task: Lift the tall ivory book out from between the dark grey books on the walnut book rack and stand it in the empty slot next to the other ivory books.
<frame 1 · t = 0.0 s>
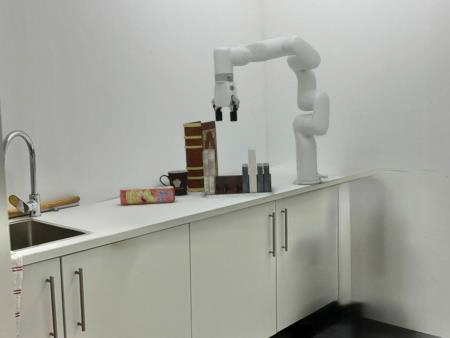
hand: (226, 121, 252), 31 cm above the worktop, tool pointing down, fingers open, 9 cm apart
book rack: (239, 193, 264), on the worktop
coffee mug: (176, 194, 267), on the worktop
snack package: (148, 203, 249), on the worktop
decorative book: (202, 188, 284), on the worktop
ivory book: (253, 190, 264), point 1 cm above the worktop, touching book rack
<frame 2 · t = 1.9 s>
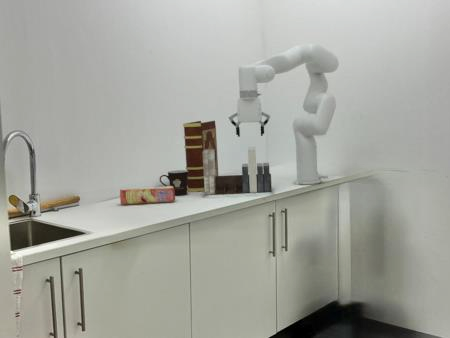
hand: (250, 136, 261), 24 cm above the worktop, tool pointing down, fingers open, 9 cm apart
nothing on the worktop moved.
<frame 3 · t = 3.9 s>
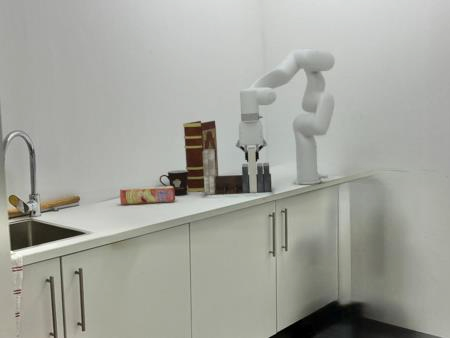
hand: (252, 161, 262), 14 cm above the worktop, tool pointing down, fingers closed on ivory book, 3 cm apart
ivory book: (253, 190, 264), point 1 cm above the worktop, touching book rack, gripper
everything else where it was.
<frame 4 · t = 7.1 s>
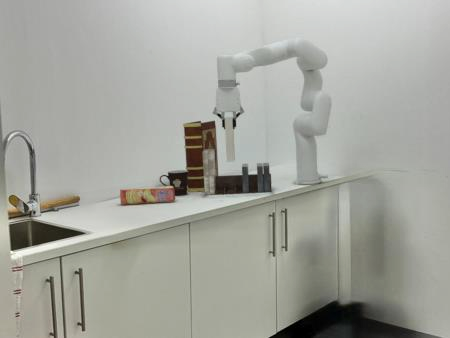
hand: (229, 128, 260), 28 cm above the worktop, tool pointing down, fingers closed on ivory book, 3 cm apart
ivory book: (231, 160, 262), point 14 cm above the worktop, touching gripper
everything else where it was.
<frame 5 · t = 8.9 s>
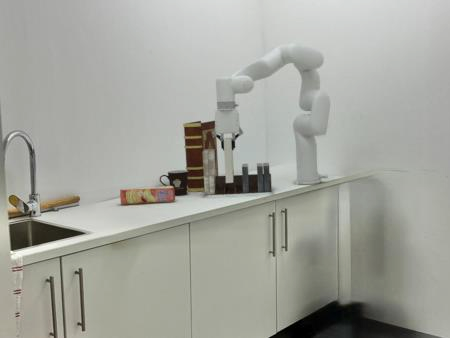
hand: (228, 149, 261), 19 cm above the worktop, tool pointing down, fingers closed on ivory book, 3 cm apart
ivory book: (230, 181, 263), point 6 cm above the worktop, touching gripper
everything else where it was.
when the fingers open (14 cm above the worktop, at t = 10.1 s): ivory book stays where it is, resting on book rack.
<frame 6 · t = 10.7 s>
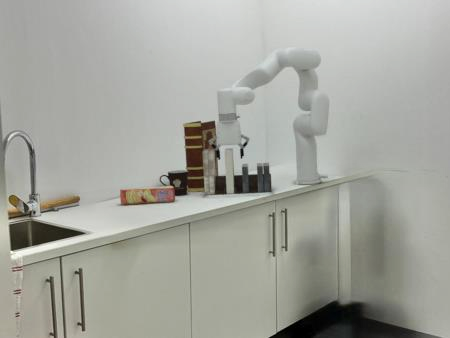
hand: (230, 158, 262), 15 cm above the worktop, tool pointing down, fingers open, 9 cm apart
ivory book: (230, 191, 263), point 1 cm above the worktop, touching book rack
everything else where it was.
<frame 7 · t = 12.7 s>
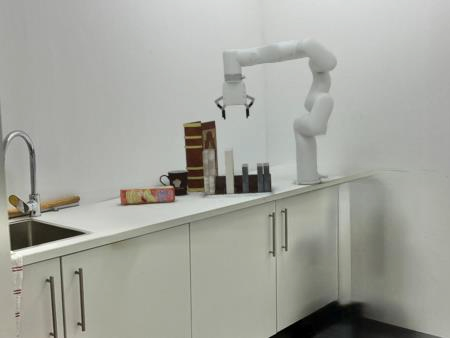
hand: (236, 118, 268), 31 cm above the worktop, tool pointing down, fingers open, 9 cm apart
nothing on the worktop moved.
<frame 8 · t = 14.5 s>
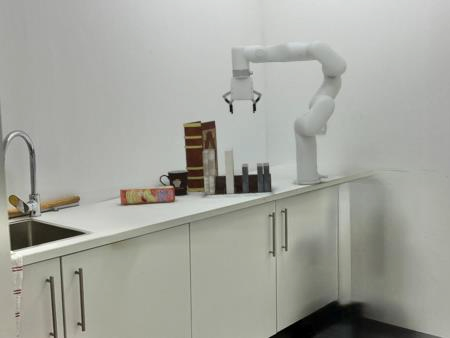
hand: (243, 113, 275), 33 cm above the worktop, tool pointing down, fingers open, 9 cm apart
nothing on the worktop moved.
at the end: ivory book 0.1 cm from the target spot on the book rack, point 1.0 cm above the book rack's base; ivory book tilted 0°; the gripper is holding nothing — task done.
